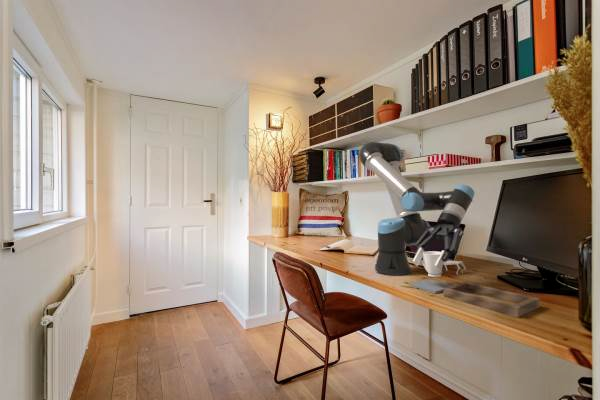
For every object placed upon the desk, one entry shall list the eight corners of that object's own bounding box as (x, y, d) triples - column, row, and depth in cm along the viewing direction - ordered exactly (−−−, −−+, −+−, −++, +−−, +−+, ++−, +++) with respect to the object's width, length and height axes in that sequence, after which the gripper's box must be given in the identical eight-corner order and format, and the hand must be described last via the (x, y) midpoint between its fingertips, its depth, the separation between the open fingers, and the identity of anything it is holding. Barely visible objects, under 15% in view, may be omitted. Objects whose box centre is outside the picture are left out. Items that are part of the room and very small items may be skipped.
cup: (430, 278, 99) (429, 255, 99) (415, 272, 109) (414, 250, 109) (449, 276, 100) (448, 253, 100) (432, 270, 110) (431, 249, 110)
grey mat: (408, 286, 106) (408, 283, 106) (427, 281, 112) (427, 279, 112) (435, 293, 97) (435, 291, 97) (454, 288, 103) (454, 285, 103)
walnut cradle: (443, 296, 94) (443, 288, 94) (466, 289, 101) (465, 282, 101) (518, 317, 76) (517, 308, 76) (539, 307, 83) (539, 298, 83)
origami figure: (449, 269, 130) (449, 258, 130) (467, 273, 122) (467, 261, 122) (431, 273, 124) (431, 261, 124) (449, 277, 116) (449, 265, 117)
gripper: (483, 225, 103) (459, 277, 95) (430, 223, 121) (406, 267, 113) (474, 211, 100) (449, 263, 92) (422, 211, 118) (396, 255, 110)
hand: (425, 265), depth 102 cm, fingers closed on cup, 8 cm apart
